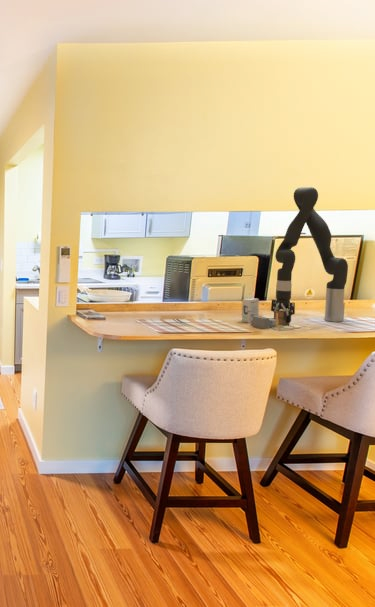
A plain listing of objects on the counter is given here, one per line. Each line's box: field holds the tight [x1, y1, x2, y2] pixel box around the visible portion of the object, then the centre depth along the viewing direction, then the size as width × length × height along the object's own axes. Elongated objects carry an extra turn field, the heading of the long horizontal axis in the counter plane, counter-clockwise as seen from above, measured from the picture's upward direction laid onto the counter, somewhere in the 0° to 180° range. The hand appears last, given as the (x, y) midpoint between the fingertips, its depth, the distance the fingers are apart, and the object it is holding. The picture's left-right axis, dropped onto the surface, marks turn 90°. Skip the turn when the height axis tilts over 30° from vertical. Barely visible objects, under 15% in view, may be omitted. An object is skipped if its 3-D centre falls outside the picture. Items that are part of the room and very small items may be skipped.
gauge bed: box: [250, 315, 303, 332], centre depth 285 cm, size 18×18×5 cm
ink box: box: [241, 297, 260, 324], centre depth 298 cm, size 9×5×12 cm, turn 141°
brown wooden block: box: [275, 309, 290, 326], centre depth 291 cm, size 5×5×7 cm
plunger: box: [268, 313, 284, 328], centre depth 283 cm, size 4×14×7 cm, turn 36°
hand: (282, 321), depth 291 cm, fingers open, 8 cm apart
